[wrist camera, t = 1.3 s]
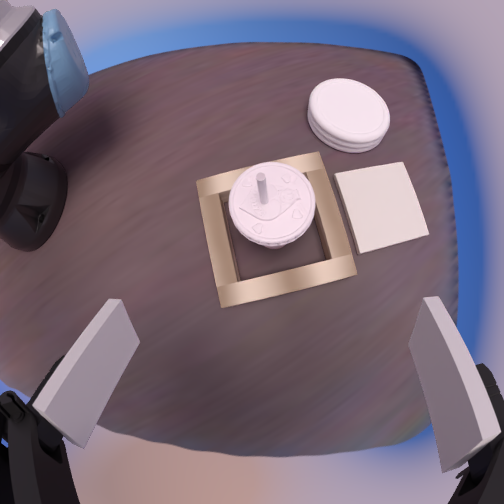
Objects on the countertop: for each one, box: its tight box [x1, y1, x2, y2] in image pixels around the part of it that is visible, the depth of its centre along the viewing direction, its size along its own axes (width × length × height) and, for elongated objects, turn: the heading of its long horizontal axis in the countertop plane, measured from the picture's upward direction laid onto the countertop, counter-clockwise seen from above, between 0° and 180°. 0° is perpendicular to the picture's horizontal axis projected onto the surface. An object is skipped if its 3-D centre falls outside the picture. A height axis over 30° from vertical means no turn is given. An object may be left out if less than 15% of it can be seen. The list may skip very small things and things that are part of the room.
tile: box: [333, 162, 429, 255], centre depth 28 cm, size 9×9×1 cm
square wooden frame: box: [196, 152, 357, 308], centre depth 28 cm, size 13×13×3 cm
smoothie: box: [229, 162, 315, 249], centre depth 23 cm, size 6×6×14 cm
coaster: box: [307, 78, 390, 153], centre depth 30 cm, size 10×10×4 cm
